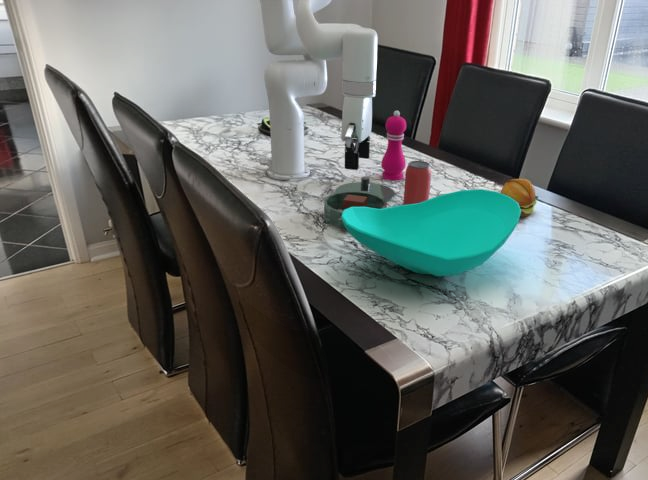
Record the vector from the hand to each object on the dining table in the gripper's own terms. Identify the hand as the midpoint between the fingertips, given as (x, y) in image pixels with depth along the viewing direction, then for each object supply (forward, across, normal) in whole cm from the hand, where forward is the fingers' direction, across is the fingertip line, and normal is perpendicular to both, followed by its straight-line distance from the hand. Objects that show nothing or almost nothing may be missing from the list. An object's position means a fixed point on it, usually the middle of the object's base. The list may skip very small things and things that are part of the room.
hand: (357, 163), depth 137 cm
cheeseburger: (+15, -20, +39) cm, 46 cm away
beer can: (+15, -13, +13) cm, 23 cm away
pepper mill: (+14, -34, +2) cm, 37 cm away
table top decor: (+15, +20, +22) cm, 33 cm away
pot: (+14, 0, 0) cm, 14 cm away
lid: (+14, -17, -2) cm, 22 cm away
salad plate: (+13, -70, -48) cm, 86 cm away
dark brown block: (+14, 0, 0) cm, 14 cm away
